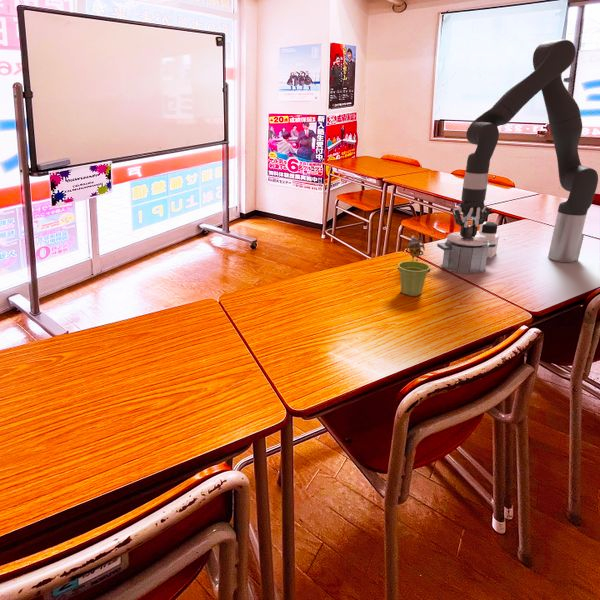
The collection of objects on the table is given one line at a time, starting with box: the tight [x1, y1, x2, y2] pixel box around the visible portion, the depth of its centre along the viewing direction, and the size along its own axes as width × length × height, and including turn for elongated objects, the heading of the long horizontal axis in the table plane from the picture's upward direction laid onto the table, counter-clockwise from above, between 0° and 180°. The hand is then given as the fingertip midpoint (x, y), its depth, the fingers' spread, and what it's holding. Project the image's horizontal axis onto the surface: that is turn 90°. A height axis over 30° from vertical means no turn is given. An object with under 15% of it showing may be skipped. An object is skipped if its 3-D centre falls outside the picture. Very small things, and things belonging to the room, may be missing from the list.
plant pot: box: [397, 260, 431, 297], centre depth 154 cm, size 9×9×9 cm
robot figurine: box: [404, 235, 431, 273], centre depth 172 cm, size 11×9×12 cm
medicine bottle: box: [478, 221, 500, 259], centre depth 188 cm, size 7×7×12 cm
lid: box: [446, 224, 489, 246], centre depth 173 cm, size 14×14×5 cm
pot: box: [436, 237, 496, 275], centre depth 176 cm, size 19×14×9 cm
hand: (467, 236), depth 173 cm, fingers closed on lid, 2 cm apart
